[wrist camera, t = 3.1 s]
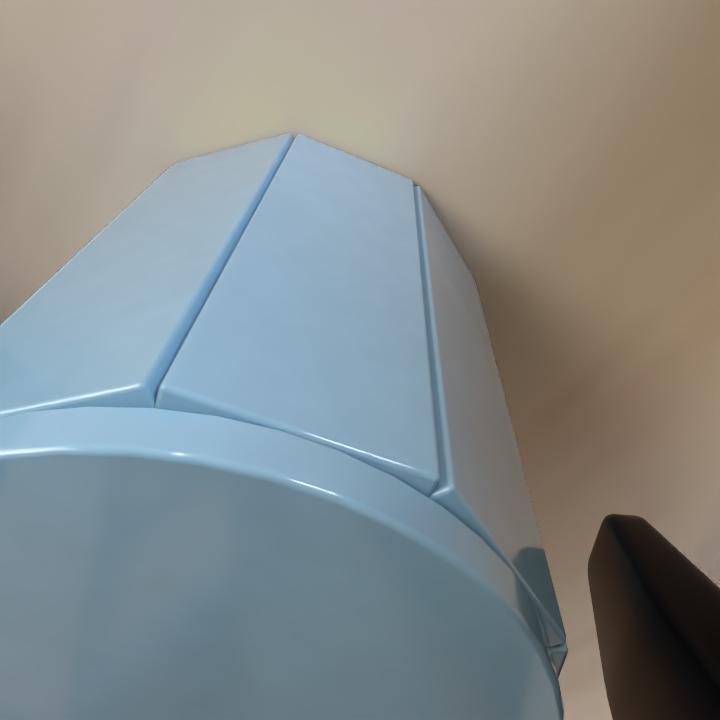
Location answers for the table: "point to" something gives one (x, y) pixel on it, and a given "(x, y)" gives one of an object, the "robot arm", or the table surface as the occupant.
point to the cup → (267, 464)
